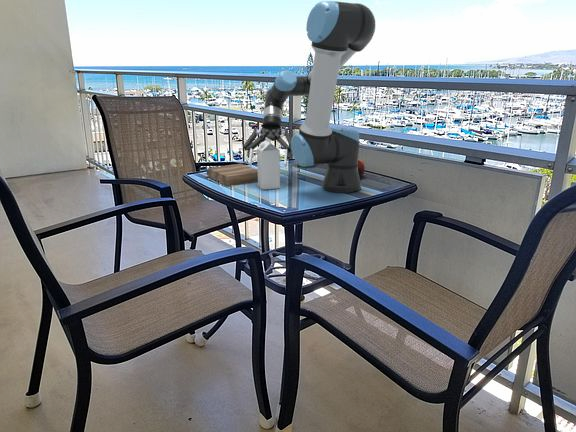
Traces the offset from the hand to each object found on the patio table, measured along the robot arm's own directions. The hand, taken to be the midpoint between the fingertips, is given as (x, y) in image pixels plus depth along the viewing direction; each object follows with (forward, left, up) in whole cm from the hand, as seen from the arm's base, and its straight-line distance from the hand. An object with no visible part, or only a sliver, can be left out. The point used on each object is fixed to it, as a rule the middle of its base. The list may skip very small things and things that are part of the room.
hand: (267, 165), depth 160 cm
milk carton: (+2, -1, -9) cm, 10 cm away
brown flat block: (+21, +4, -9) cm, 23 cm away
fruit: (-5, -40, -9) cm, 42 cm away
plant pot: (+25, -36, -9) cm, 45 cm away
